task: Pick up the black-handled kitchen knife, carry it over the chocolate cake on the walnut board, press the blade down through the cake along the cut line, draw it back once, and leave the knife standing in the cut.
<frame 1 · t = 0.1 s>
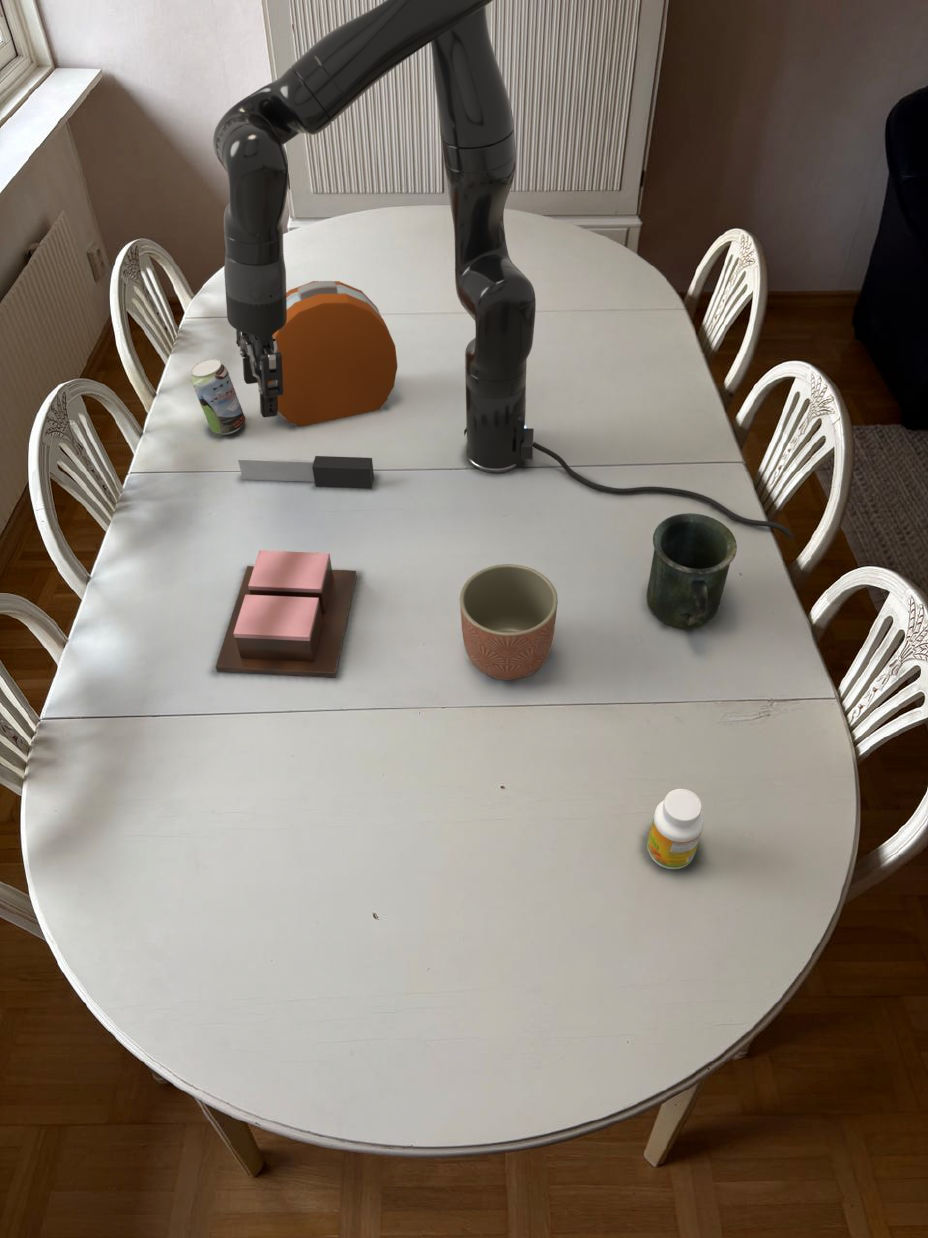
hand: (260, 398, 136), 22 cm above the table, tool pointing down, fingers open, 8 cm apart
cake: (289, 621, 139), on the table
supplement bottle: (670, 850, 114), on the table
planter: (507, 654, 134), on the table
beverage can: (225, 428, 169), on the table
knife: (316, 481, 159), on the table
mug: (683, 613, 139), on the table
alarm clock: (332, 403, 173), on the table
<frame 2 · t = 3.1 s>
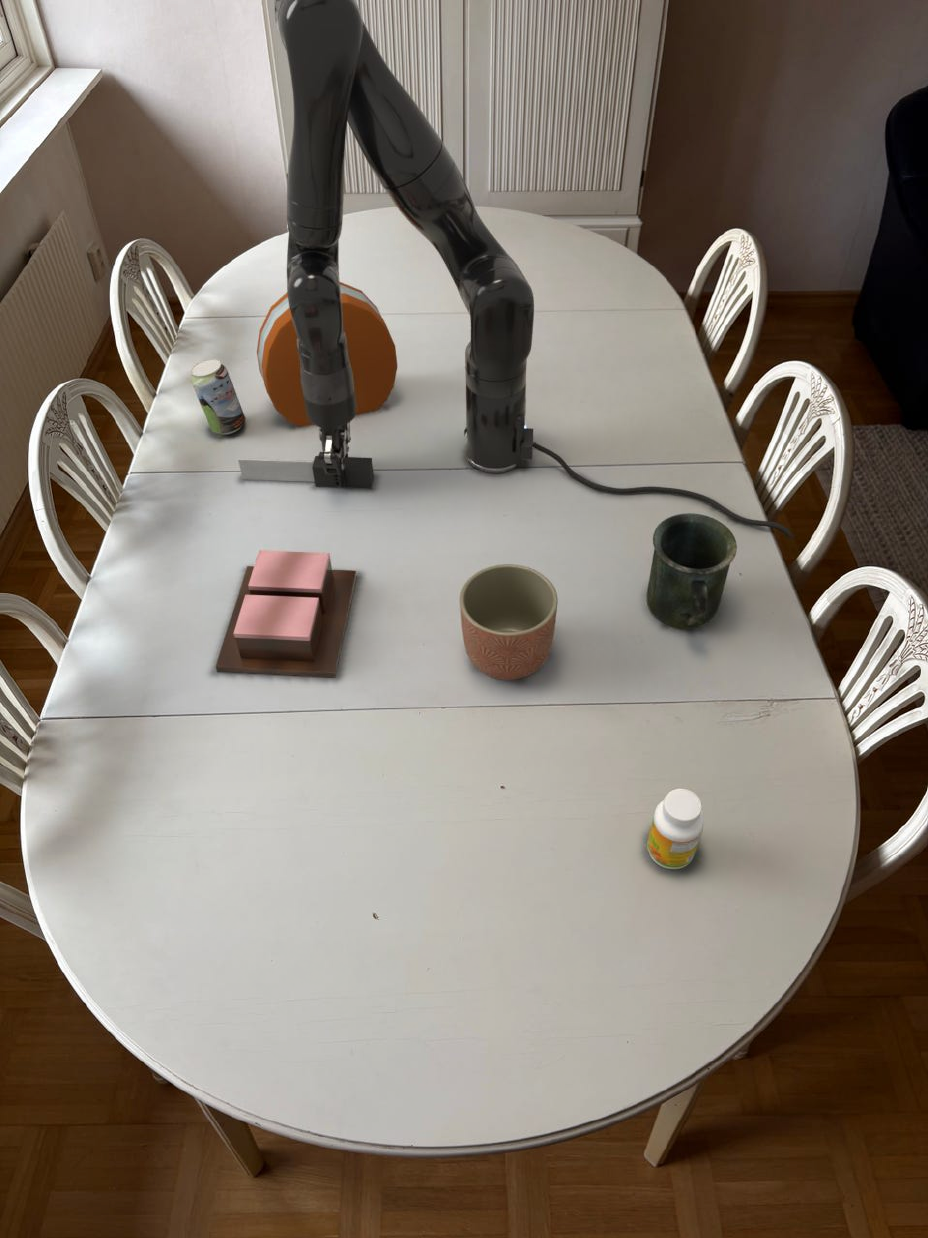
hand: (341, 478, 158), 1 cm above the table, tool pointing down, fingers closed on knife, 3 cm apart
knife: (316, 481, 159), on the table, touching gripper
everything else where it was.
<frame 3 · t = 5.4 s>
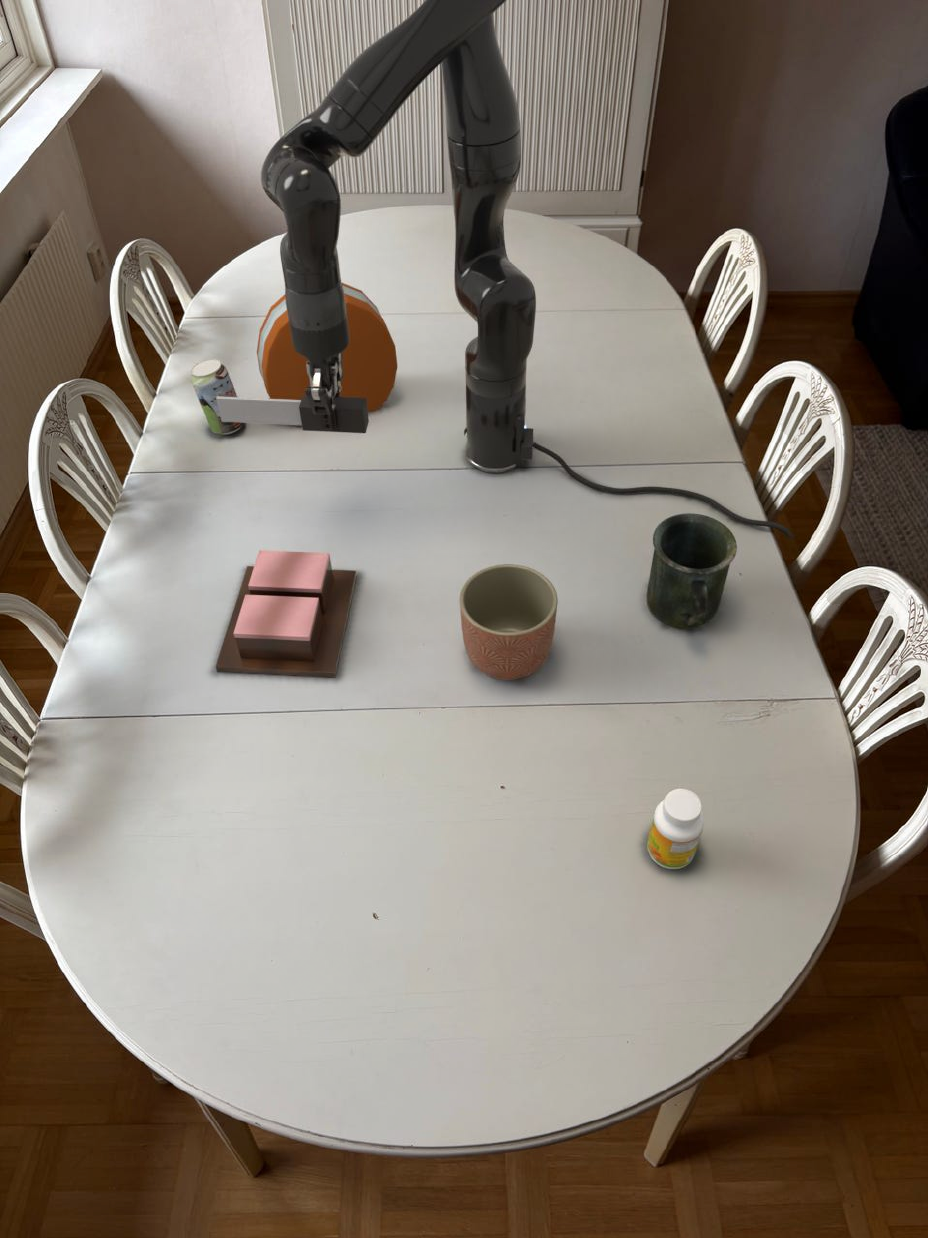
hand: (332, 421, 141), 17 cm above the table, tool pointing down, fingers closed on knife, 3 cm apart
knife: (304, 424, 141), point 17 cm above the table, touching gripper
everything else where it was.
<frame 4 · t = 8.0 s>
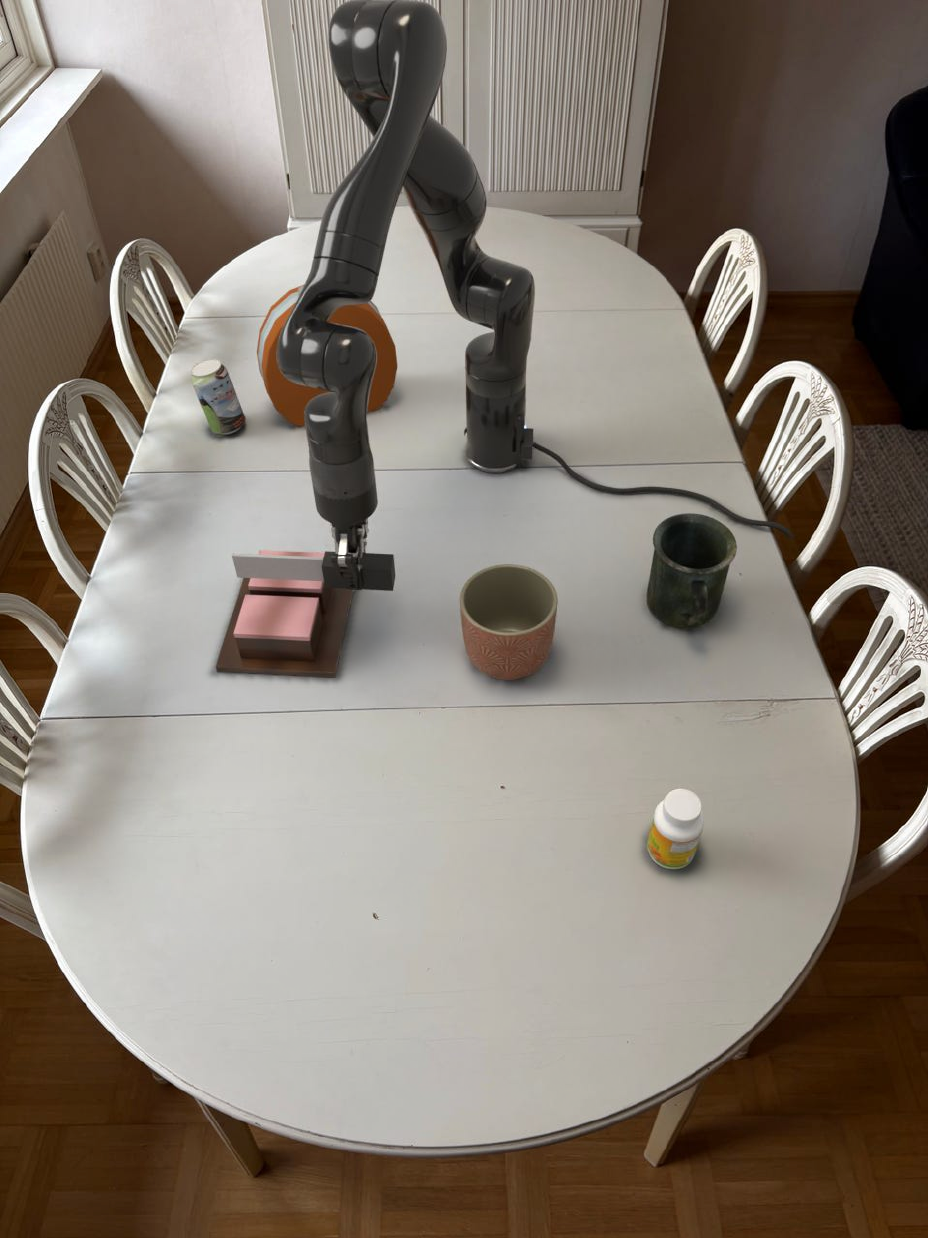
hand: (357, 578, 131), 9 cm above the table, tool pointing down, fingers closed on knife, 3 cm apart
knife: (326, 580, 132), point 9 cm above the table, touching gripper
everything else where it was.
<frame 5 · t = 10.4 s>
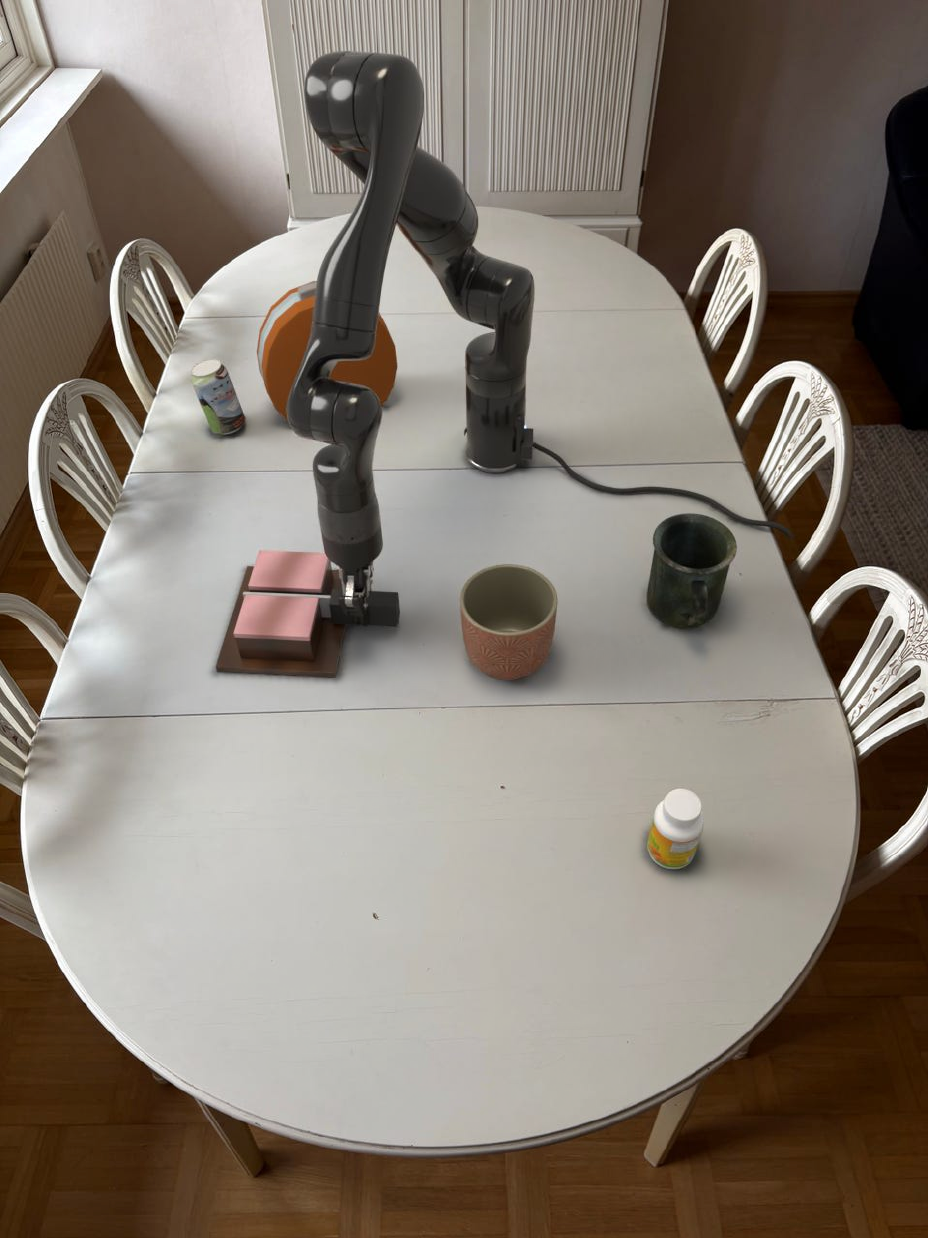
hand: (363, 614, 136), 2 cm above the table, tool pointing down, fingers closed on knife, 3 cm apart
knife: (334, 616, 137), point 1 cm above the table, touching gripper
everything else where it was.
when the fingers open (2 cm above the table, at t = 12.7 s): knife stays where it is, resting on cake.
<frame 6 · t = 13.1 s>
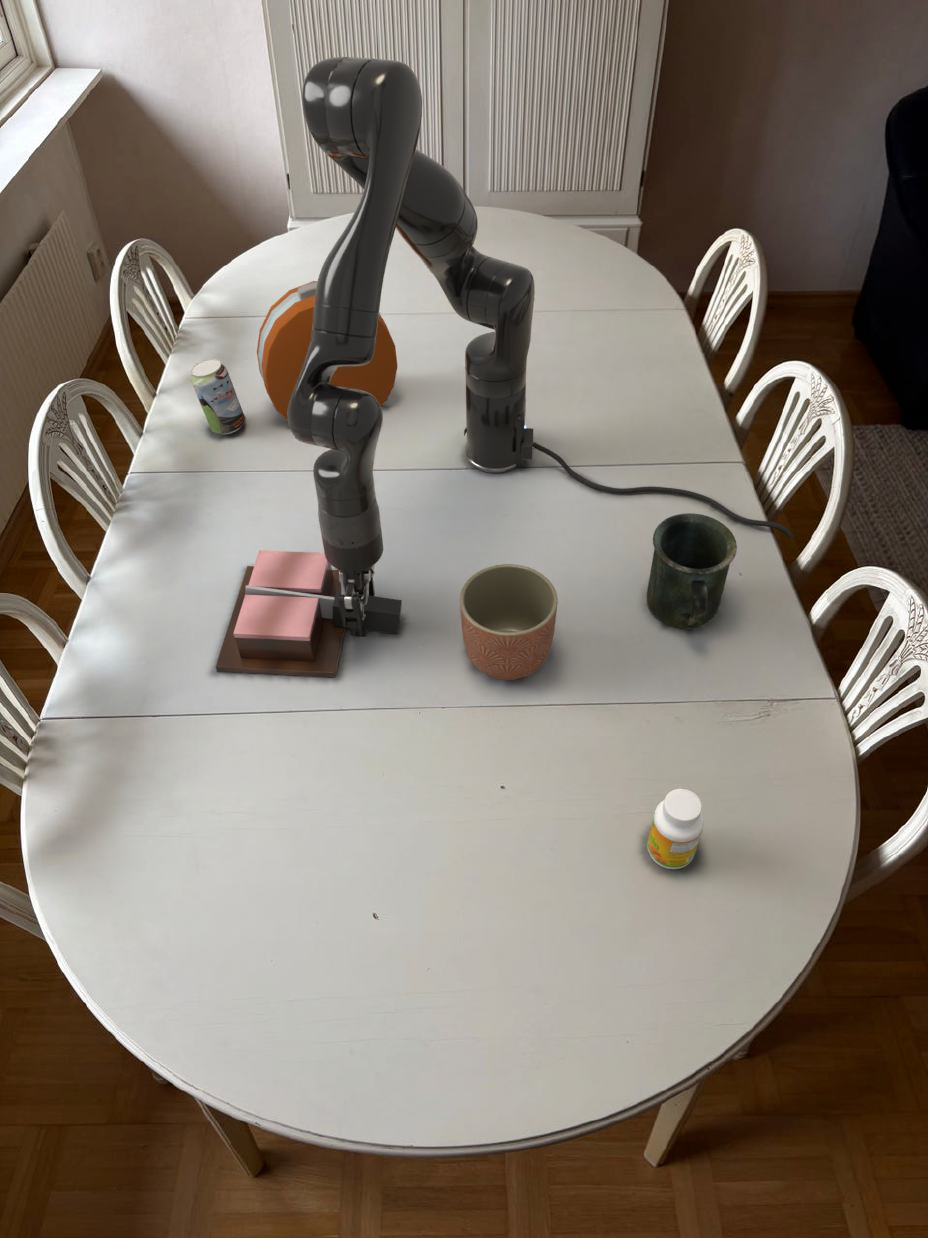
hand: (363, 615, 136), 2 cm above the table, tool pointing down, fingers open, 6 cm apart
knife: (333, 617, 137), point 1 cm above the table, tilted 8°, touching cake
everything else where it was.
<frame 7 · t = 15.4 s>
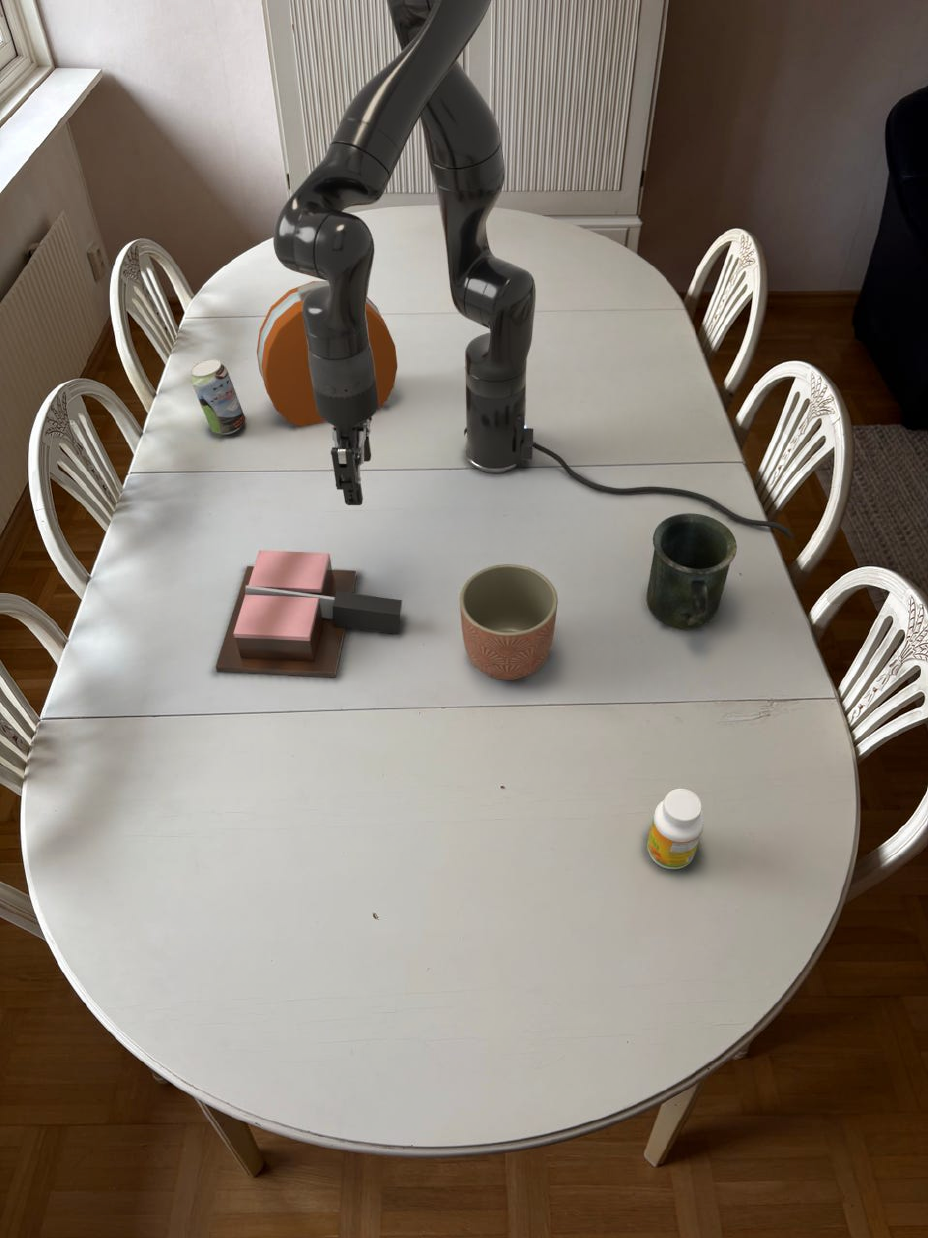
hand: (358, 480, 129), 19 cm above the table, tool pointing down, fingers open, 8 cm apart
nothing on the table moved.
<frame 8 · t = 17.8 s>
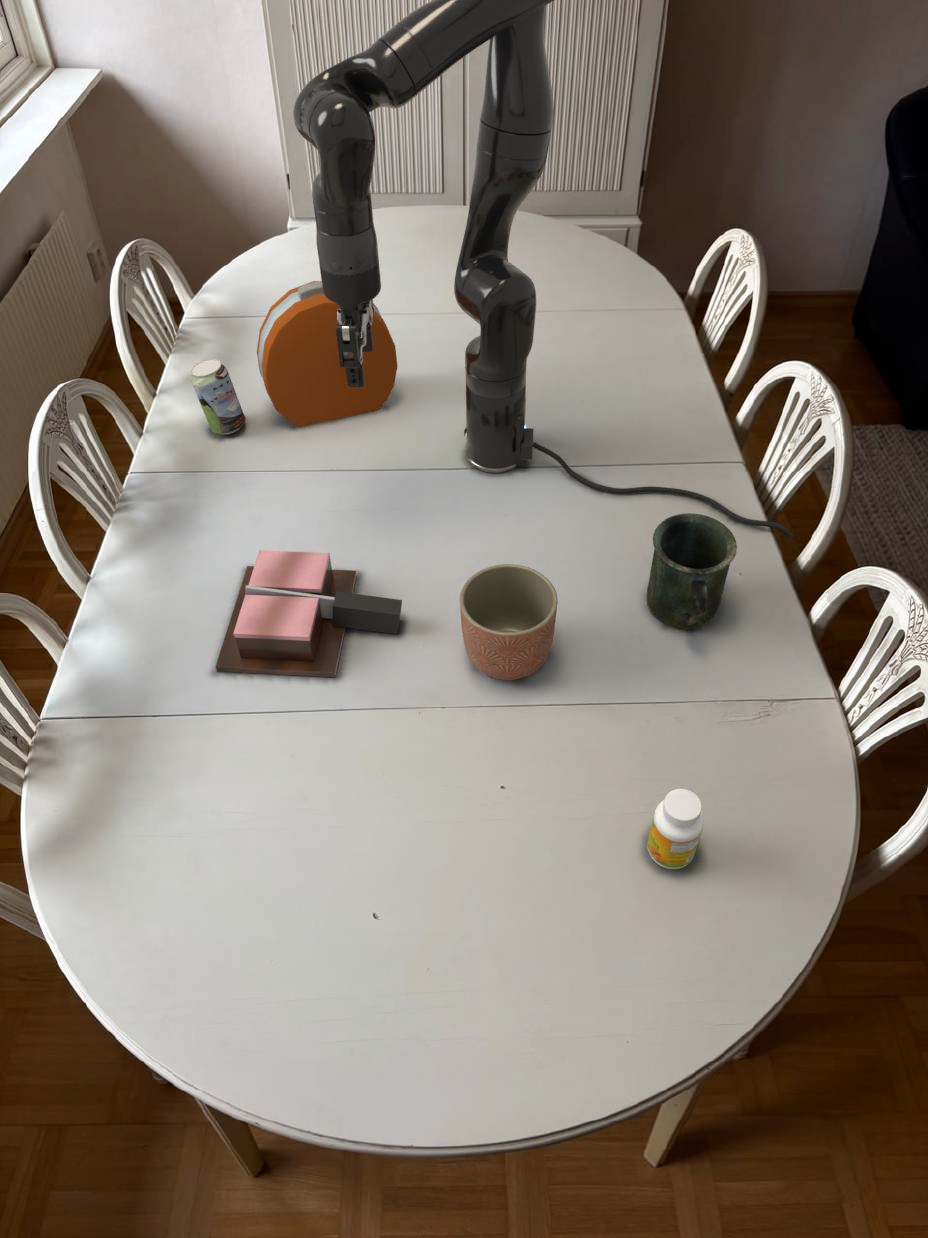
hand: (360, 367, 138), 24 cm above the table, tool pointing down, fingers open, 8 cm apart
nothing on the table moved.
at the end: knife 0.2 cm from the target spot on the cake, point 1.2 cm above the cake's base; knife tilted 8°; the gripper is holding nothing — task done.
